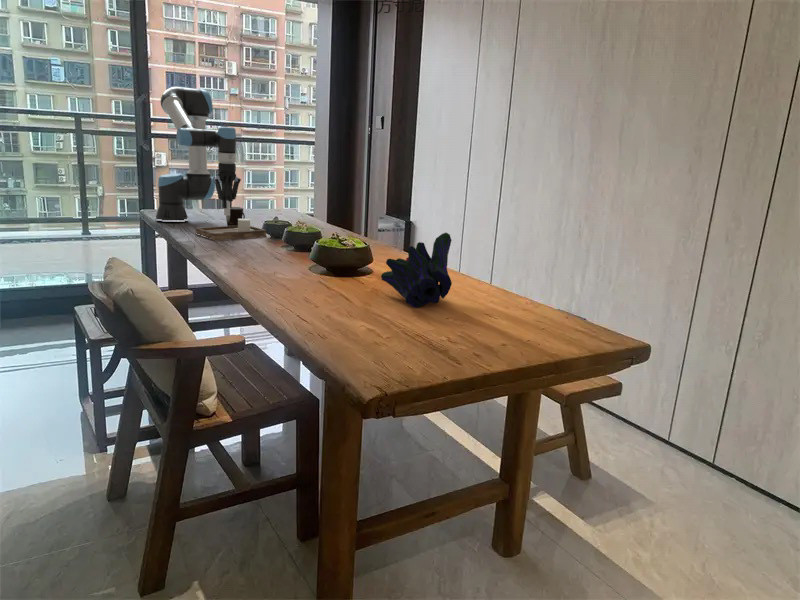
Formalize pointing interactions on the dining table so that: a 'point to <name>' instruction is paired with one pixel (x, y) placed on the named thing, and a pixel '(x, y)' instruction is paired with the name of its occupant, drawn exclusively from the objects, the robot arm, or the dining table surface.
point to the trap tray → (229, 232)
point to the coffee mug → (234, 216)
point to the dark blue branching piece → (421, 273)
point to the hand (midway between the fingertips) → (227, 215)
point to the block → (243, 224)
